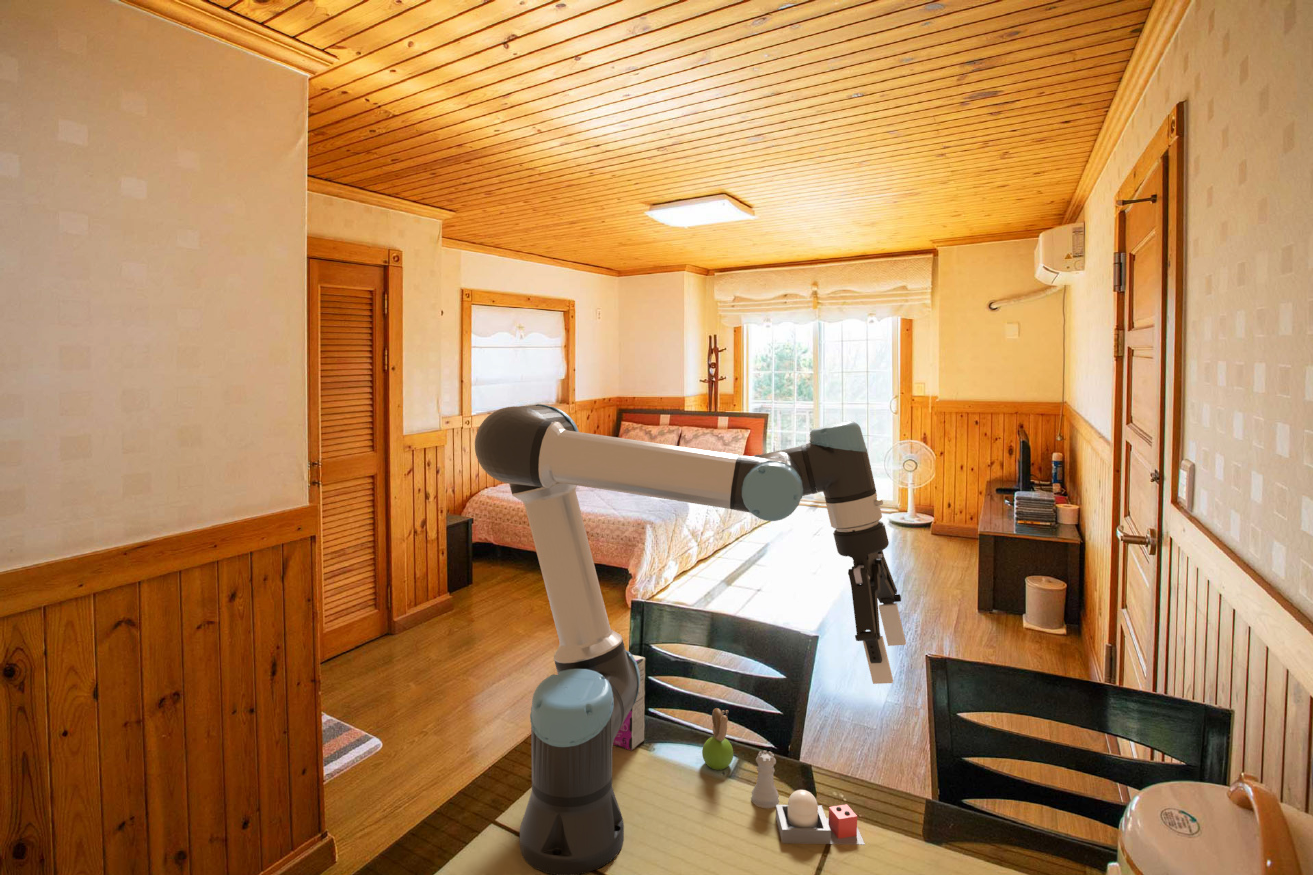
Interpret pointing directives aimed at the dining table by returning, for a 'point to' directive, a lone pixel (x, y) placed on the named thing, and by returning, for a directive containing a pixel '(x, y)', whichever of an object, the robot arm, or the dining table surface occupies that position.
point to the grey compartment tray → (822, 827)
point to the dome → (802, 810)
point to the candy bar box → (634, 716)
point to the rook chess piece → (765, 782)
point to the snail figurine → (718, 743)
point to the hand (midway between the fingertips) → (890, 662)
